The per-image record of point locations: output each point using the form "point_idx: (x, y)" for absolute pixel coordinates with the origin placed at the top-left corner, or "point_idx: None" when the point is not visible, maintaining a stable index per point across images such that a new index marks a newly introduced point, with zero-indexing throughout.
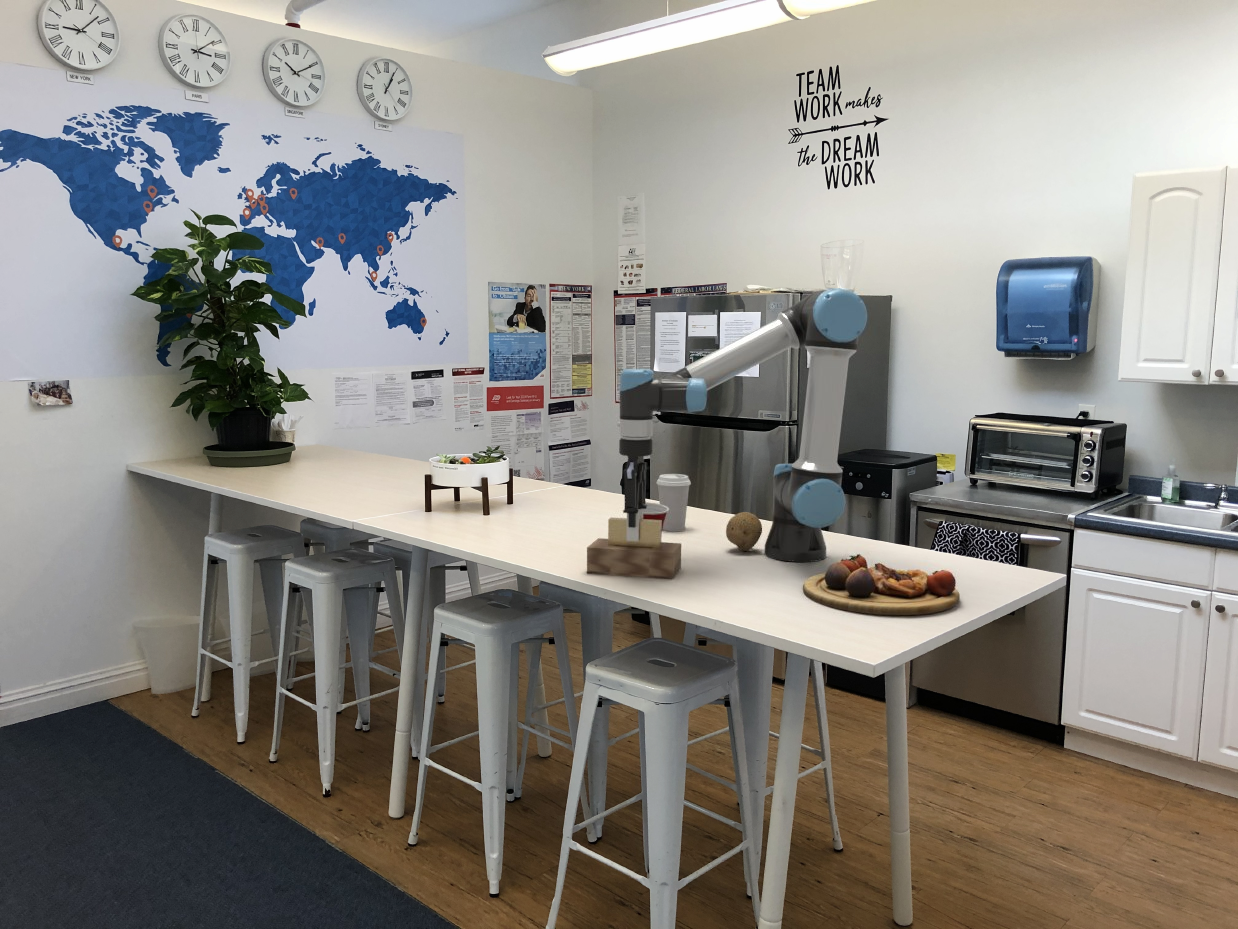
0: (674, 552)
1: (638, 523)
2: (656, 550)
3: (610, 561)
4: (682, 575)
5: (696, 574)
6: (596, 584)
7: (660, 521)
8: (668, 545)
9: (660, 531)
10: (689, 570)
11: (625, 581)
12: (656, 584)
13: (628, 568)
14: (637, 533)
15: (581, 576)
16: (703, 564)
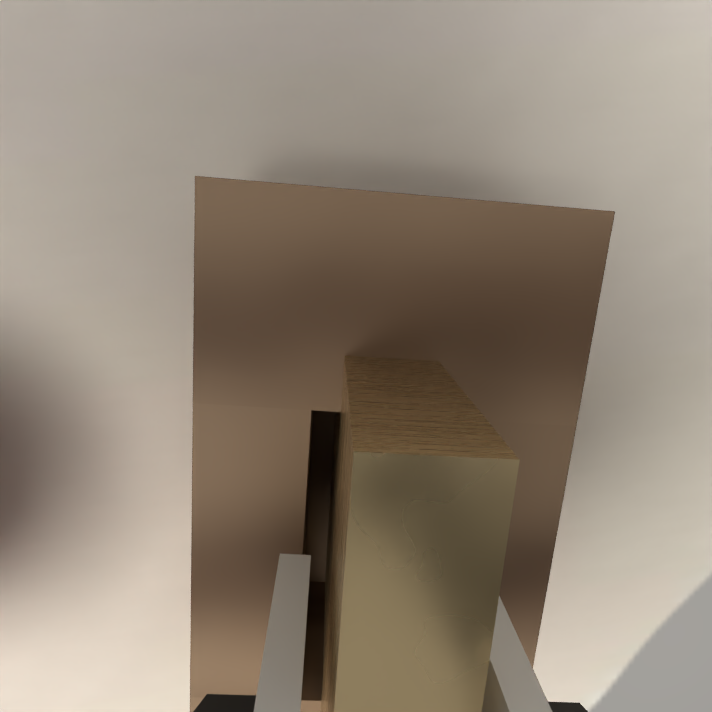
0: (561, 207)
1: (545, 709)
2: (531, 373)
3: None
4: (416, 165)
5: (372, 66)
6: (671, 605)
7: (459, 456)
8: (317, 292)
9: (421, 404)
10: (273, 128)
11: (600, 481)
12: (650, 305)
13: None
14: (505, 622)
15: None
16: (68, 33)
